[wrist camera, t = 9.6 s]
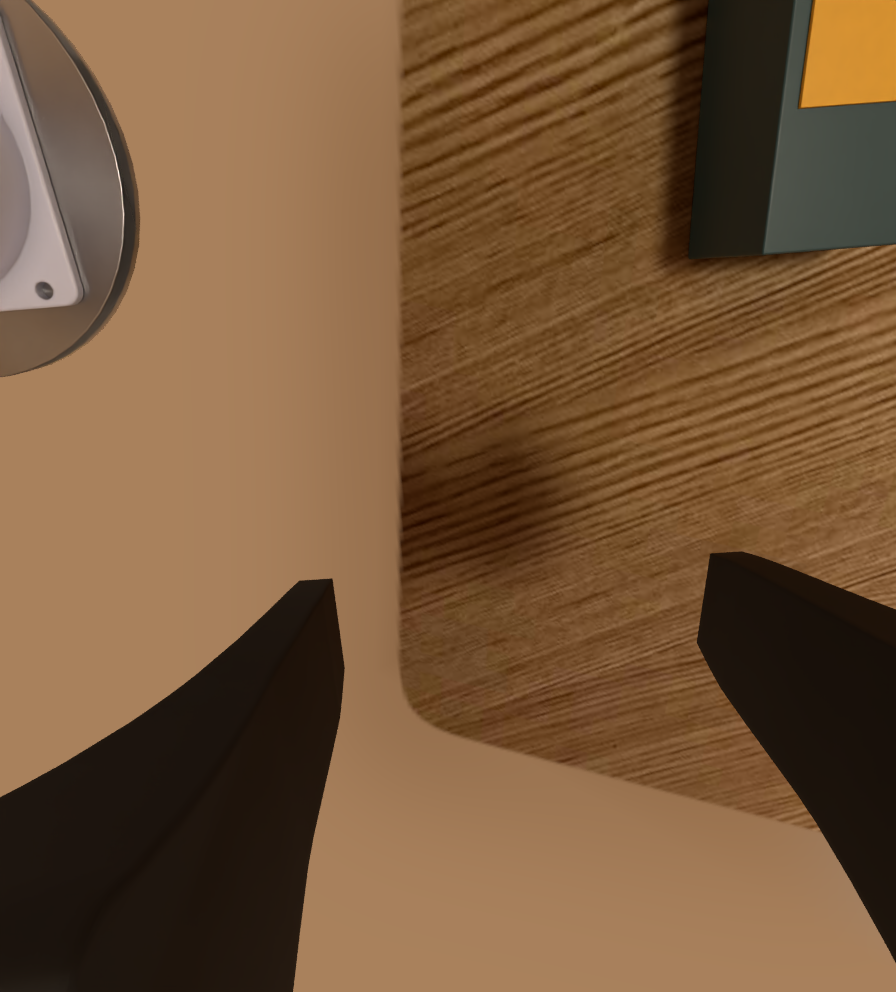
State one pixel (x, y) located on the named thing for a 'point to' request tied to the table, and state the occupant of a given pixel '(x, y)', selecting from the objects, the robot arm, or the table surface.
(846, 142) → the packet
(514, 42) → the table surface
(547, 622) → the table surface
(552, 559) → the table surface
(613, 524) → the table surface
